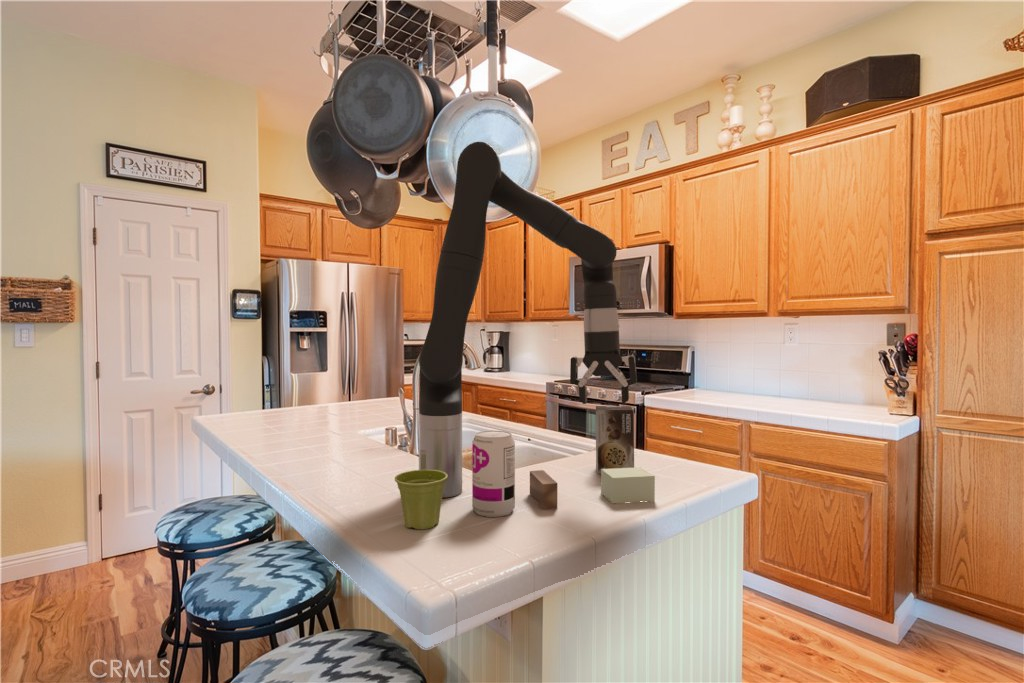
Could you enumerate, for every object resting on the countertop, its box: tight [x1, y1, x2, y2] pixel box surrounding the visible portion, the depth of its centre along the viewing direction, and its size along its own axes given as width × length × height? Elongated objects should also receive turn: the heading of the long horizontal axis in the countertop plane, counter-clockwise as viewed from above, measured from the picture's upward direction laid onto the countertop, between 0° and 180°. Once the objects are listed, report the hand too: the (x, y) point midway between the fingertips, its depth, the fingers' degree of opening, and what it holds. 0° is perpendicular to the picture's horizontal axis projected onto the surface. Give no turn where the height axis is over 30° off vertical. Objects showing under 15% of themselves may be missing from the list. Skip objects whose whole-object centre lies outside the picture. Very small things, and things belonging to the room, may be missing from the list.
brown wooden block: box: [529, 469, 558, 510], centre depth 105 cm, size 3×10×5 cm, turn 13°
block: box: [600, 466, 656, 504], centre depth 108 cm, size 9×7×6 cm
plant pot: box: [394, 469, 448, 530], centre depth 93 cm, size 9×9×9 cm
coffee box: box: [595, 405, 635, 475], centre depth 129 cm, size 9×6×16 cm
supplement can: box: [471, 429, 516, 518], centre depth 99 cm, size 8×8×15 cm
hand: (604, 403), depth 112 cm, fingers open, 8 cm apart
